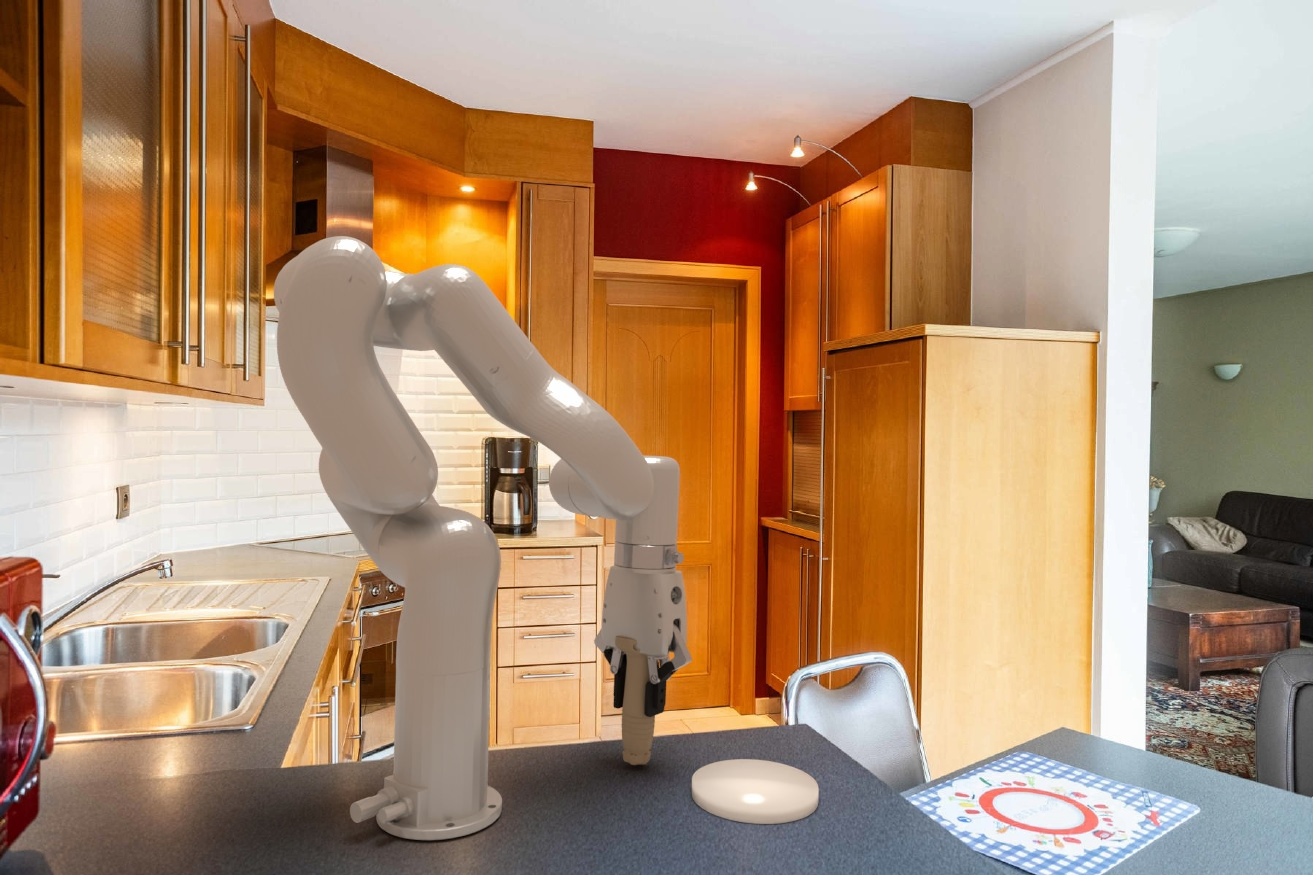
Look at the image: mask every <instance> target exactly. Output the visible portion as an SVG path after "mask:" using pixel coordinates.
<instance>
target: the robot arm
mask: <svg viewBox="0 0 1313 875" xmlns="http://www.w3.org/2000/svg"><path fill="white" fill-rule="evenodd" d="M273 299H274V304H275V307H276V309H277V311H278V320H277V327H276V328H277V329H276V350H277V351H276V352H277V359H278V360H277V361H278V365H279V369H280V373H281V377H282V380H283V382H284V384H285V386H286V389H287V391H288V393H289V395H290V396H291V399H292V401H293V402H294V404H295V406H296V407H297V409H298V411H299V413H300V415H301V416H302V417H303V419H304V421H305V422H306V424H307V425H308V427H309V430H311V432H312V434H313V436H314V437H315V439H316V440H317V442H318V443H319V444H320V446H321V448H322V449H321V450H320V454H319V459H318V474H319V479H320V481H321V484H322V487H323V489H324V491H325V493H326V495H327V497H328V498H329V500H330V502H331V503H332V504H333V506H334V508H335V510H336V511H337V512H338V514H339V515H340V516H341V518H342V519H343V521H344V523H345V524H346V525H347V527H348V528H349V530H350V531H351V532H352V534H353V535H354V537H355V538H356V539H357V541H358V542H359V544H360V545H361V547H362V548H363V549H364V551H365V553H366V554H367V555H368V557H369V558H370V559H371V561H372V562H373V563H374V565H375V566H376V567H377V569H378V570H379V571H380V572H381V573H382V574H383V575H384V576H385V577H386V578H387V579H389V580H390V581H392V582H393V583H395V584H397V585H398V586H401V587H403V588H404V597H403V603H402V607H401V610H400V615H399V616H400V617H399V621H398V627H397V633H396V634H397V635H396V637H397V638H396V652H395V654H396V655H395V656H396V657H395V695H394V696H395V698H394V699H395V703H394V706H395V707H394V734H393V735H394V736H393V738H394V740H393V742H394V743H393V770H392V771H393V774H390V775H387V776H385V777H384V780H383V788H381V789H379V790H378V791H377V793H376V795H373V796H368V797H365V798H362V799H360V800H357V801H354V802H353V803H351V805H350V808H349V814H350V817H351V818H350V819H352V821H353V822H354V823H356V824H359V823H361V822H364V821H367V820H369V819H371V818H374V817H376V818H375V819H376V823H377V824H378V826H379V827H380V828H381V829H382V830H383V831H385V832H387V833H388V834H390V835H393V836H395V837H398V838H402V839H408V840H416V841H441V840H442V841H443V840H449V839H455V838H459V837H463V836H468V835H470V834H473V833H476V832H479V831H482V830H483V829H486V828H487V827H489V826H490V825H492V824H493V823H494V822H496V820H497V819H499V817H500V816H501V813H502V808H503V798H502V794H500V793H499V791H498V790H496V789H495V788H494V787H492V786H490V785H488V783H489V782H488V781H489V780H488V776H489V775H488V773H489V737H490V704H491V703H490V702H491V701H490V700H491V696H490V694H491V666H492V665H491V658H492V657H491V654H492V653H491V651H492V630H493V629H492V628H493V627H492V626H493V618H494V617H493V616H494V609H495V604H496V603H495V602H496V598H497V591H498V588H499V587H498V586H499V582H500V578H501V577H500V576H501V570H502V567H501V566H502V556H501V554H502V553H501V549H500V545H499V542H498V538H497V537H496V535H495V533H494V532H493V530H492V529H491V528H490V526H489V525H488V524H487V523H486V522H485V521H484V520H483V519H481V518H480V517H478V516H477V515H475V514H473V513H470V512H469V511H466V510H463V509H460V508H458V509H457V508H453V507H448V506H442V505H439V504H440V503H438V501H437V500H436V498H435V497H434V495H433V494H434V492H435V489H436V487H437V484H438V479H439V467H438V462H437V459H436V457H435V454H434V452H433V450H432V447H431V446H430V445H429V443H428V442H427V440H426V438H424V436H423V435H422V433H421V432H420V430H419V429H418V427H417V426H416V424H415V422H414V421H413V419H412V418H411V416H410V415H409V413H408V412H407V410H406V408H405V407H404V405H403V404H402V403H401V401H400V399H399V398H398V396H397V394H396V393H395V392H394V390H393V388H392V387H391V384H390V383H389V381H388V379H387V377H386V375H385V374H384V371H383V370H382V367H381V366H380V364H379V360H378V359H377V356H376V351H375V348H374V347H380V348H386V349H395V350H397V349H398V350H405V351H406V350H407V351H419V352H426V351H435V352H436V353H437V355H438V356H439V357H440V358H441V360H442V361H443V362H444V363H445V364H446V365H447V367H448V368H449V369H450V370H451V371H452V372H453V374H455V376H456V377H457V379H458V380H460V381H461V383H462V384H463V386H464V387H465V388H466V389H467V390H468V392H469V393H470V394H471V395H472V396H473V398H474V399H475V400H476V401H477V402H478V404H479V405H480V406H481V407H482V408H483V410H484V411H486V413H487V414H488V415H489V416H490V417H491V418H493V419H494V420H496V421H497V422H499V423H501V424H502V425H503V426H505V427H507V428H509V429H511V430H513V431H515V432H517V433H519V434H522V435H524V436H526V437H528V438H531V439H533V440H534V441H536V442H538V443H539V444H541V445H543V446H544V447H546V448H547V449H549V450H550V451H551V452H553V453H554V454H555V455H556V456H557V457H559V460H558V461H557V462H555V465H553V467H552V469H551V472H550V474H549V478H548V479H549V480H548V488H549V491H550V494H551V496H552V498H553V500H554V501H555V502H556V504H557V505H558V506H560V507H561V508H562V509H564V510H565V511H568V512H570V513H573V514H576V515H581V516H586V517H587V516H589V517H593V518H597V517H598V518H603V519H609V520H614V521H615V531H614V532H615V534H614V554H613V555H614V556H613V565H612V566H610V568H609V572H608V575H607V580H606V584H605V590H604V598H603V603H602V614H601V628H600V630H599V631H598V633H597V634H596V636H595V638H594V640H593V641H594V642H593V643H594V645H595V646H596V647H597V649H599V650H600V652H601V653H602V654H603V656H604V658H605V659H606V661H607V663H608V664H609V671H610V673H611V674H612V675H613V676H614V677H613V692H612V693H613V704H612V706H613V708H614V709H617V710H618V709H622V708H623V699H624V690H625V679H626V668H627V655H626V653H625V652H623V651H622V650H620V649H619V648H618V647H616V645H615V638H616V636H619V637H623V638H628V639H633V640H637V643H638V644H634V649H635V650H639V649H640V653H641V654H642V655H645V656H647V657H648V666H649V676H650V682H647V683H646V685H645V708H644V714H645V716H647V717H652V716H655V717H656V716H658V715H660V714H662V713H664V712H665V708H666V707H665V706H666V698H667V681H669V680H670V679H671V678H672V676H673V675H674V674H675V673H676V672H677V671H678V670H679V669H680V668H683V667H685V666H687V665H688V664H691V662H692V655H691V653H690V650H689V649H688V646H687V642H688V638H687V637H688V616H687V615H688V614H687V613H688V612H687V598H686V588H685V583H684V577H683V573H682V572H683V571H681V570H677V564H678V565H680V564H683V562H684V559H685V558H684V557H685V556H684V555H685V554H684V553H682V552H679V551H678V544H677V542H678V528H679V527H678V526H679V525H678V524H679V505H680V502H679V500H680V478H681V469H680V465H679V463H678V461H677V460H676V459H675V458H673V457H670V456H665V455H663V456H661V455H660V456H659V455H643V454H642V452H641V451H640V449H639V447H638V446H637V445H636V444H635V442H634V440H632V438H631V437H630V436H629V435H628V433H627V431H626V430H625V428H623V427H622V426H621V424H620V423H619V422H618V421H617V420H616V418H614V417H613V416H612V415H611V414H610V413H609V412H608V411H607V410H606V409H605V408H604V407H602V406H601V404H600V403H597V402H596V400H594V399H593V398H591V397H590V396H589V395H588V394H586V393H585V392H583V391H582V390H581V389H580V388H578V387H577V386H576V385H575V384H574V383H573V382H571V381H570V379H567V378H566V377H564V376H563V375H562V374H560V373H558V371H556V370H555V369H554V368H553V367H552V366H551V365H550V364H549V363H548V361H547V360H546V359H545V358H544V357H543V356H542V354H541V353H540V351H539V350H538V349H537V348H536V347H535V345H534V344H533V343H532V342H531V341H530V340H529V338H528V336H527V335H526V334H525V333H524V331H523V330H522V329H521V327H520V326H519V325H518V324H517V322H516V320H515V319H514V318H513V317H512V316H511V314H510V313H509V311H507V308H505V306H504V305H503V304H502V302H501V301H500V300H499V298H498V297H497V296H496V295H495V294H494V292H493V291H492V289H491V288H490V287H489V286H488V285H487V284H486V282H485V281H484V280H483V279H482V278H481V277H480V276H479V275H478V274H477V273H476V272H475V271H473V270H472V269H470V268H469V267H467V266H464V265H460V264H455V263H450V264H449V263H446V264H442V265H436V266H433V267H431V268H427V269H425V270H422V271H419V272H418V273H401V272H395V271H391V270H389V271H388V270H386V269H385V267H384V264H383V262H382V260H381V258H380V256H379V255H378V254H377V253H376V251H375V250H374V249H373V248H372V247H370V246H369V245H368V244H367V243H365V242H363V241H362V240H360V239H357V238H355V237H351V236H347V235H345V236H344V235H338V236H337V235H336V236H331V237H327V238H324V239H320V240H318V241H316V242H315V243H313V244H311V245H310V246H308V247H306V248H305V249H303V250H302V251H301V252H299V254H298V255H296V256H295V257H293V258H292V259H291V260H289V261H287V263H285V265H283V267H282V269H281V270H280V271H279V272H278V273H277V276H276V279H275V281H274V285H273ZM670 653H673V654H674V655H673V658H672V659H670Z"/></svg>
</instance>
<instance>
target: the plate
mask: <svg viewBox="0 0 1313 875" xmlns="http://www.w3.org/2000/svg"><path fill="white" fill-rule="evenodd" d="M819 792H820V791H819V785H818V782H817V781H816V779H814V778H813V777H812V776H811V775H810V774H808V773H806V772H805V771H803V770H801V769H799V768H797V767H794V766H791V765H788V764H784V763H782V762H781V763H780V762H776V761H769V760H763V759H753V758H752V759H751V758H750V759H749V758H746V759H745V758H742V759H741V758H737V759H726V760H725V759H724V760H720V761H715V762H711V763H709V764H706V765H703V766H701V767H700V768H698V769H696V771H695V772H694V773H693V775H692V776H691V798H692V800H693V801H694V803H695V804H696V805H697V806H698V807H699V808H701V809H702V810H704V811H705V812H708V813H709V814H712V815H713V816H717V817H719V818H722V819H726V820H730V821H735V822H740V823H744V824H745V823H746V824H754V825H755V824H756V825H774V824H785V823H791V822H795V821H799V820H801V819H804V818H806V817H808V816H810V815H811V814H813V813H814V812H815V811H816V810H817V808H818V806H819Z"/></svg>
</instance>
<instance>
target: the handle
mask: <svg viewBox="0 0 1313 875" xmlns="http://www.w3.org/2000/svg"><path fill="white" fill-rule="evenodd" d="M634 644H638V643H637V640H633V639H628V638H623V637H619V636H616V638H615V645H616V647H618V648H619V649H620V650H622V651H623V652H625V653H626V655H627V668H626V679H625V690H624V699H623V707H622V708H621V711H622V712H621V740H622V741H621V742H622V747H623V748H624V749H623V750H622V758H623V761H624V762H625V763H629V764H630V765H631V766H632V765H633V766H637V765H646V764H648V762H649V761H650V759H651V757H652V756H651V755H652V749H651V748H652V746H653V739H654V734H655V724H656V721H655V720H656V715H655V716H652V717H647V716H645V714H644V708H645V685H646V683H647V682H650V676H649V666H648V657H647V656H645V655H642V654H641V653H640V649H639V650H635V649H634Z"/></svg>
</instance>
